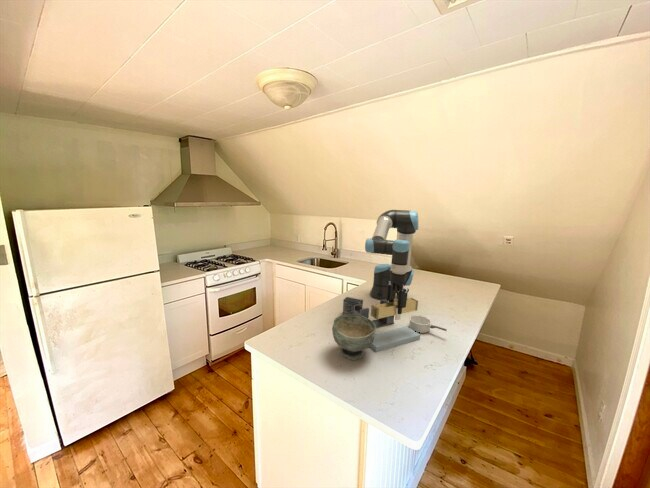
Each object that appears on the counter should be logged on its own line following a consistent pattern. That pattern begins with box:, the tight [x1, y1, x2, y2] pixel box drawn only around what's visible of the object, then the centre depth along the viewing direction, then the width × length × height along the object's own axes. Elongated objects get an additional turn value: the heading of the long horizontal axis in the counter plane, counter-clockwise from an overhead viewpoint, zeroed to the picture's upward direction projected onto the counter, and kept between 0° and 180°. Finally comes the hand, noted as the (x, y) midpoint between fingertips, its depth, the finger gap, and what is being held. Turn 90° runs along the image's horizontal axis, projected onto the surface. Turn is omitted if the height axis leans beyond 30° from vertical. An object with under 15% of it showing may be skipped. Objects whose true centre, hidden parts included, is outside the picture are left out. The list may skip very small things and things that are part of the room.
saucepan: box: [408, 314, 447, 334], centre depth 146 cm, size 12×20×6 cm, turn 45°
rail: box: [370, 297, 419, 320], centre depth 133 cm, size 4×26×5 cm, turn 117°
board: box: [369, 325, 421, 353], centre depth 136 cm, size 10×28×2 cm, turn 117°
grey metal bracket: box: [353, 299, 395, 329], centre depth 151 cm, size 7×24×12 cm, turn 117°
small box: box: [342, 296, 364, 315], centre depth 161 cm, size 11×6×10 cm, turn 65°
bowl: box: [331, 314, 377, 361], centre depth 122 cm, size 20×19×15 cm
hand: (394, 317), depth 134 cm, fingers closed on rail, 4 cm apart
